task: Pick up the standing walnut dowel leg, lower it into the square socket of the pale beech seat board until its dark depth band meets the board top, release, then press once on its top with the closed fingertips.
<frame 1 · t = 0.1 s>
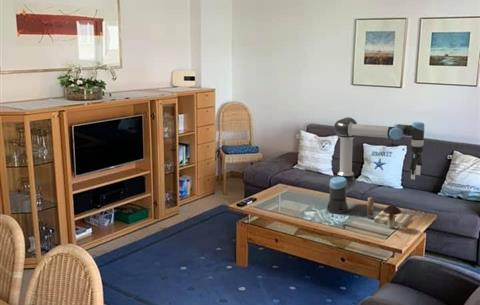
hand: (415, 177, 331), 28 cm above the table, fingers open, 13 cm apart
board: (391, 220, 330), on the table
peg: (370, 218, 336), on the table
decorative mushroom: (391, 228, 317), on the table
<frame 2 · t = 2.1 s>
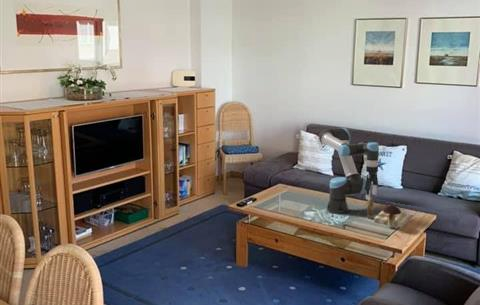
hand: (371, 196, 332), 15 cm above the table, fingers open, 13 cm apart
nothing on the table moved.
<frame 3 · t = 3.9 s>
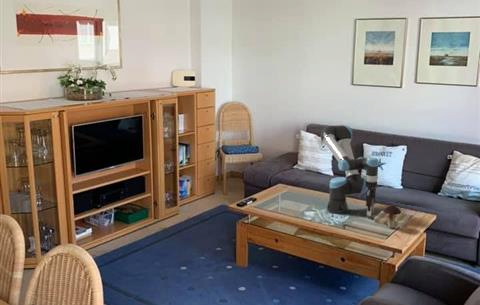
hand: (370, 214, 335), 3 cm above the table, fingers closed on peg, 4 cm apart
peg: (370, 218, 336), on the table, touching gripper
everything else where it was.
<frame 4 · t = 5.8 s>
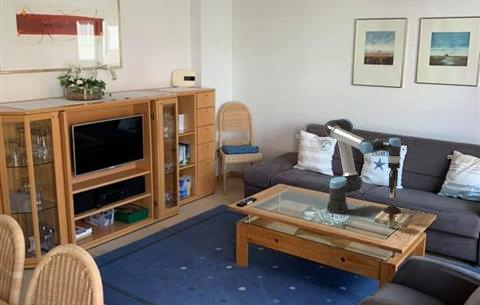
hand: (392, 196, 326), 17 cm above the table, fingers closed on peg, 4 cm apart
peg: (392, 200, 327), point 14 cm above the table, touching gripper
everything else where it was.
when the fingers open (5 cm above the table, at t = 7.7 s): peg drops 2 cm, resting in board.
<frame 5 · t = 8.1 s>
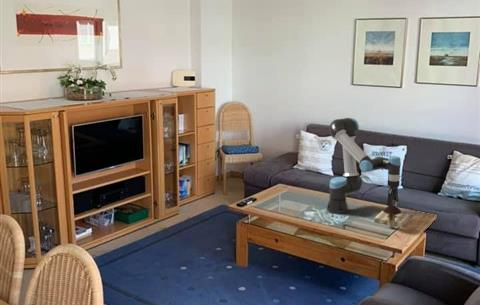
hand: (392, 212, 329), 6 cm above the table, fingers open, 9 cm apart
peg: (391, 220, 330), resting in board
everything else where it was.
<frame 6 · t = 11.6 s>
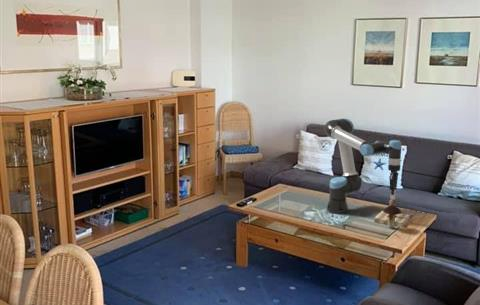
hand: (392, 199, 327), 15 cm above the table, fingers closed
nothing on the table moved.
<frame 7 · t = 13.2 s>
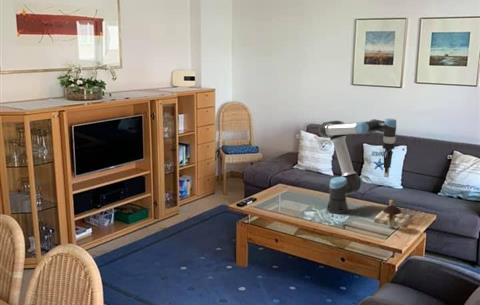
hand: (386, 177, 330), 29 cm above the table, fingers closed
nothing on the table moved.
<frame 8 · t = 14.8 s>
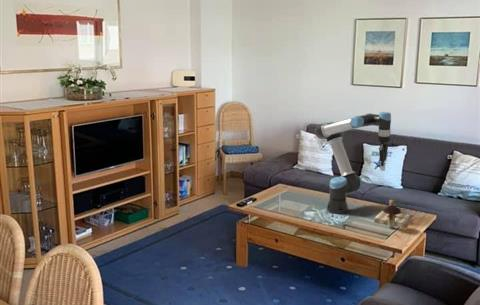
hand: (382, 170, 332), 32 cm above the table, fingers closed
nothing on the table moved.
at the end: peg 0.0 cm off-centre on the board, point 0.0 cm above the board's base; peg tilted 0°; the gripper is holding nothing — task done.
